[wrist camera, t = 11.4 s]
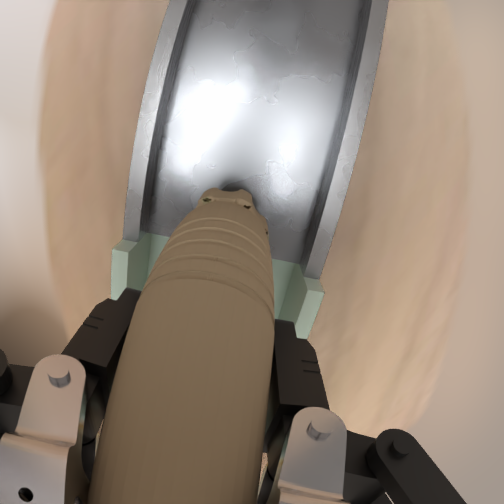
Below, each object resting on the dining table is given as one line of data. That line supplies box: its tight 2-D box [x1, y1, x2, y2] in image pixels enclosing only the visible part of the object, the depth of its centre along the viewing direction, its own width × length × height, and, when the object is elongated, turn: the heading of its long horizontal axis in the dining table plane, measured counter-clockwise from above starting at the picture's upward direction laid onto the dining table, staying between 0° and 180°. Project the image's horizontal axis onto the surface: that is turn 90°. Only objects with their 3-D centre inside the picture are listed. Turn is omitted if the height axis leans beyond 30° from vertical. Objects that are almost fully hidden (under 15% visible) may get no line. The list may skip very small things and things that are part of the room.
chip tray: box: [111, 233, 325, 339], centre depth 17 cm, size 12×10×4 cm
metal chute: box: [123, 0, 389, 280], centre depth 12 cm, size 20×10×3 cm, turn 167°
